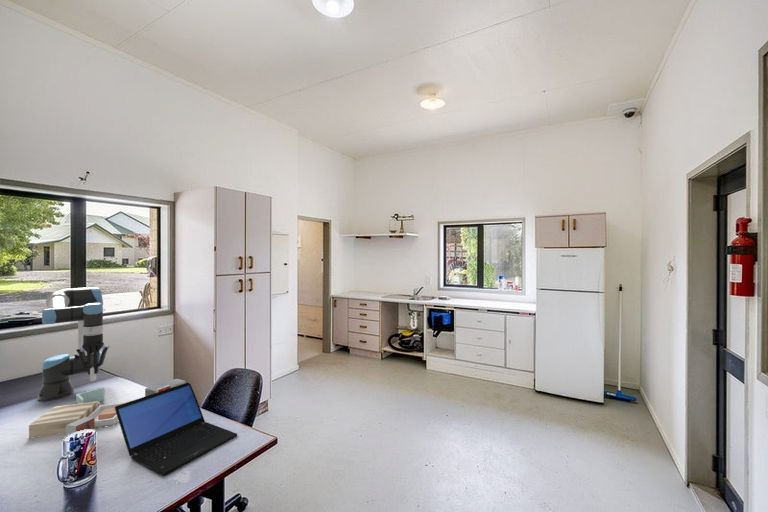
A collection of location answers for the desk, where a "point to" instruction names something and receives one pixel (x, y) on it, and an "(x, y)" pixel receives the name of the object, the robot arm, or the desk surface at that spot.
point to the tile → (107, 414)
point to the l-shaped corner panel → (90, 396)
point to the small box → (80, 425)
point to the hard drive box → (163, 386)
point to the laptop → (168, 429)
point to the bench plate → (60, 418)
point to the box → (106, 421)
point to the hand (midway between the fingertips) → (93, 380)
